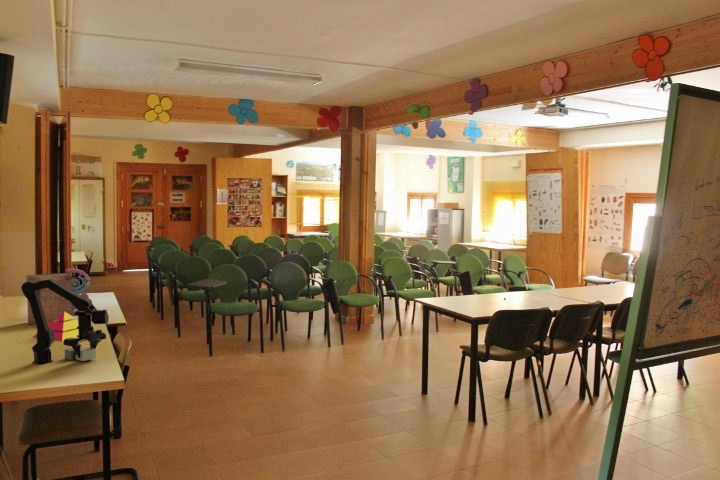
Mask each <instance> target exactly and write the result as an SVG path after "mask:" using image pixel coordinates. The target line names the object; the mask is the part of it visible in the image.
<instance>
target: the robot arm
mask: <svg viewBox="0 0 720 480" xmlns="http://www.w3.org/2000/svg"><path fill="white" fill-rule="evenodd" d="M44 288H49V289H50V290H52V291H53V292H55V293H57V294H58V295H60V296H62V297H63V298H65V299H67V300H68V301H70V302H71V304H72V305H73V306H74V307H75V308H76V309H77V311H76V313H75V314H73V317H77V320H78V327H77V329H78V332H79V335H77V338H67V339H65V340H64V341H63V346H67V347H71V348H73V349H74V351H75V353H76V355H77V357H78V358H80V347H81V348H82V344H80V343H81V342H86V341H88V343H89V347H90V348H94V349H95V350H96V348H97V346H98V344H99V343H101V342H102V340H106V339H107V334H106V333H105V332H103V330H102V329H97V330H94V326H93V325H92V323H93V324H94V325H107V324H108V323H109V314H108V310H107V309H97V307H95V306H94V304H93V300H92V299H91V298H89V297H88V298H87V297H85V296H82V295H81V294H80V295H78V294H75V293H74V292H72V291H71V290H69V289H67V288H66V287H64V286H62V285H61V284H59V283H57V282H56V281H55V280H53V279H48V280H42V281H36V280H31V281H28V282H27V281H24V282H23V283H22V285H21V287H20V289H21V292H22V293H23V295H24V297H25V298H26V299H28V300H29V303H30V306H31V310H32V313H33V317H34V320H35V323H36V325H35V327H36V329H37V330H36V334H37V338H36V343H35V344H33V346H31V350H32V352H33V361H32V362H31V363H33V364H35V365H44V364H48V363H52V362H53V360H52V351H51V346H52V345H53V344H54V342H55V341H56V340H55V337H56V335H55V334H54V329H51V330H50V328H49V327H48V323H47V322H46V318H45V315H44V312H43V308H42V305H41V301H40V289H44ZM80 311H84V312H80Z"/></svg>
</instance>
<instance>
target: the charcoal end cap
mask: <svg viewBox="0 0 720 480" xmlns="http://www.w3.org/2000/svg"><path fill="white" fill-rule="evenodd" d="M83 348H84V347H82V346H81V347H80V349H83ZM73 353H75V351H74V349H73V348H72V347H69V348H66V349H64V359H65V360H68V361H69V360H70V361H74V359H73Z"/></svg>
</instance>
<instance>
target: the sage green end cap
mask: <svg viewBox="0 0 720 480" xmlns="http://www.w3.org/2000/svg"><path fill="white" fill-rule="evenodd" d="M82 348H83V349H80V358H78V357H77V355H76V359H77V360H76V359H75V360H76V361H80V362H83V361H84V362H87V361H86V360H88V361H90V360H94V359H96V358H97V356H96V355H97V354H96V353H97V352H96V349H94V348H90V346H87V347H82Z"/></svg>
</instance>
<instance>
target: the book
mask: <svg viewBox="0 0 720 480" xmlns="http://www.w3.org/2000/svg"><path fill="white" fill-rule="evenodd" d="M48 279H53V280H55V281H56V282H57V283H59V284H61V285H62V286H64V287H66V288H67V289H69V290H71V291H72V287H73V282H72V280H73V274H72V272H69V273H67V272H63V273H62V272H61V273H45V274H44V273H43V274H28V275H26V282H28V281H31V280H36V281H42V280H48ZM26 299H27V298H26ZM40 301H41V305H42V308H43V312H44V315H45V318H46V322H47V324H49V323H51V322H52V321H55V320H54V319H56V318H57V317H58V316H59V315H61V314H62V313H63V312H64V311H65V312H66V313H68V314H69V315H71V316H73V305H72V304H71V302H70V301H68V300H67V299H65V298H63V297H62V296H60V295H58V294H57V293H55V292H53V291H52V290H50V289H49V288H44V289H40ZM73 317H74V316H73ZM27 323H28V326H32V325H33V326H34V324H36V323H35V320H34V317H33V313H32V310H31V306H30V303H29V300H28V299H27Z"/></svg>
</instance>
